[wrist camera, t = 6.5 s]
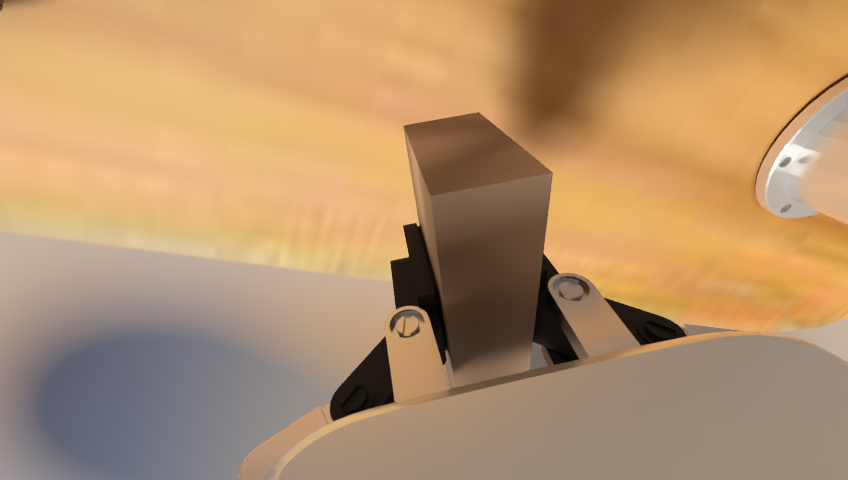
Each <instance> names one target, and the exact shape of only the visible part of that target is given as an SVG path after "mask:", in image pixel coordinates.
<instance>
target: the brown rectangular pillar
mask: <svg viewBox="0 0 848 480" xmlns="http://www.w3.org/2000/svg"><path fill="white" fill-rule="evenodd" d="M404 132H405V138H406V145H407V151H408V157H409V163H410V169H411V175H412V182H413V188H414V194H415V200H416V206H417V212H418V219H419V225H420V226H421V229H422V233H423V236H424V240H425V243H426V247H427V250H428V254H429V258H430V261H431V265H432V268H433V272H434V275H435V279H436V283H437V286H438V290H439V295H440V302H441V309H442V316H443V323H444V330H445V338H446V345H447V351H445V353H446V360H447V361H446V363H445V366H446V370H447V375H448V379H449V382H450V387H451V388H456V387H460V386H464V385H469V384H473V383H477V382H482V381H486V380H490V379H495V378H499V377H503V376H508V375H512V374H517V373H521V372H525V371H529V368H530V360H531V351H532V343H533V335H534V326H535V318H536V310H537V301H538V293H539V284H540V276H541V267H542V259H543V251H544V242H545V234H546V225H547V217H548V208H549V200H550V192H551V183H552V175H553V173H552V172H551V171H550V170H549V169H548V168H546V167H545V166H544V165H543V164H541V163H540V162H539V161H538V160H536V159H535V158H534V157H533V156H532V155H530V154H529V153H528V152H527V151H525V150H524V149H523V148H522V147H521V146H519V145H518V144H517V143H516V142H514V141H513V140H512V139H511V138H510V137H508V136H507V135H506V134H505V133H503V132H502V131H501V130H500V129H498V128H497V127H496V126H495V125H494V124H492V123H491V122H490V121H489V120H487V119H486V118H485V117H484V116H483V115H481V114H480V113H479V112H478V113H472V114H467V115H461V116H455V117H450V118H444V119H438V120H433V121H427V122H421V123H416V124H410V125H405V126H404Z"/></svg>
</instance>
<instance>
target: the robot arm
mask: <svg viewBox="0 0 848 480" xmlns="http://www.w3.org/2000/svg"><path fill="white" fill-rule="evenodd" d="M755 190H756V198H757V200H758V202H759V205H760V206H762V207H763V208H764V209H765V210H766V211H768V212H770V213H772V214H774V215H777V216H779V217H784V218H801V217H807V216H812V215H815V214H818V213H822V214H825V215H827V216H829V217H831V218H834V219H836V220H838V221H841V222H843V223H845V224H847V225H848V77H847V78H846V79H844V80H842V81H841V82H839V83H838V84H836V85H835V86H833V87H832V88H830V89H828V90H827V91H826V92H825V93H823V94H822V95H821V96H819V97H818V98H817V99H816V100H814V101H813V102H812V103H811V104H810V105H808V106H807V107H806V108H805V109H804V110H803V111H802V112H801V113H800V114H799V115H798V116H797V117H796V118H795V119H794V120H793V121H792V122H791V123H790V124H789V125H788V126H787V128H786V129H785V130H784V131H783V132H782V133H781V135H780V136H779V137H778V139H777V140H776V141H775V143H774V144H773V146H772V147H771V148H770V150H769V152H768V154H767V155H766V157H765V159H764V161H763V162H762V165H761V167H760V170H759V173H758V175H757V180H756V186H755ZM403 227H404V232H405V237H406V243H407V248H408V253H409V257H408V258H403V259H398V260H393V261H391V271H392V279H393V287H394V295H395V305H396V310H395V311H393V312H392V313H391V314H390V315H389V316H388V317H387V320H386V322H385V335H386V336H385V337H384V338H383V339H382V340H381V342H380V343H379V344H378V345H377V346H376V347H375V348H374V349H373V350H372V351H371V353H370V354H369V355H368V356H367V357H366V358H365V359H364V361H362V363H361V364H360V365H359V366H358V367H357V368H356V369H355V370H354V371H353V372H352V374H351V375H350V376H349V377H348V378H347V379H346V380H345V381H344V382H343V383H342V385H341V386H340V387H339V388H338V389H337V391H336V392H335V394H334V395H333V397H332V400H331V402H330V403H328V404H327V405H325V406H324V407H322V408H320V406H318V407H316V408H315V409H313V410H312V411H310V412H309V413H307V414H305V415H304V416H303V417H301V418H300V419H298V420H296V421H295V422H293V423H292V424H290V425H289V426H287V427H286V428H284V429H283V430H281V431H280V432H278V433H277V434H275V435H274V436H272V437H271V438H269V439H268V440H266V441H265V442H263V443H262V444H260V445H259V446H257V447H256V448H255V449H254V450H253V451H251V452H250V453H249V454H248V456H247V457H246V459H245V460H244V461H243V463H242V465H241V468H240V470H239V473H238V480H848V362H846V361H845V360H843V359H841V358H840V357H838V356H836V355H834V354H832V353H831V352H829V351H827V350H825V349H823V348H821V347H819V346H817V345H815V344H813V343H809V342H807V341H804V340H801V339H797V338H793V337H789V336H783V335H778V334H770V333H760V332H747V331H738V330H730V329H722V328H714V327H705V326H697V325H689V324H683V326H682V327H679V326H678V325H677V324H675V323H674V322H672V321H671V320H669V319H666V318H664V317H661V316H658V315H655V314H652V313H649V312H646V311H643V310H640V309H637V308H634V307H631V306H628V305H625V304H622V303H619V302H615V301H612V300H609V299H606V298H603V296H602V295H601V294H600V293H599V291H598V290H597V289H596V287H595V286H594V285H593V284H592V283H591V282H590V281H589V280H588V279H586V278H584V277H583V276H580V275H577V274H572V273H561V274H559V273H558V272H557V270H556V269H555V268H554V266H553V265H552V264H551V262H550V261H549V260H548V259H547V257H546V256H545V255H544V253H543V259H542V267H541V276H540V284H539V293H538V301H537V310H536V318H535V326H534V335H533V342H535V343H537V344H539V345H540V349H541V352H542V354H543V356H544V358H545V360H546V362H547V364H548V367H543V368H539V369H535V370H530V371H525V372H521V373H517V374H512V375H508V376H503V377H499V378H495V379H490V380H486V381H482V382H477V383H473V384H469V385H464V386H460V387H456V388H451V389H450V388H449V384H448V381H447V378H446V374H445V371H444V367H443V365H444V364H445V363H446V361H447V360H446V353H445V351H447V345H446V338H445V330H444V323H443V316H442V309H441V302H440V295H439V290H438V286H437V283H436V279H435V275H434V272H433V268H432V265H431V261H430V258H429V254H428V250H427V247H426V243H425V240H424V236H423V233H422V229H421V226H417V224H416V223H414V224H409V225H404V226H403Z"/></svg>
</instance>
